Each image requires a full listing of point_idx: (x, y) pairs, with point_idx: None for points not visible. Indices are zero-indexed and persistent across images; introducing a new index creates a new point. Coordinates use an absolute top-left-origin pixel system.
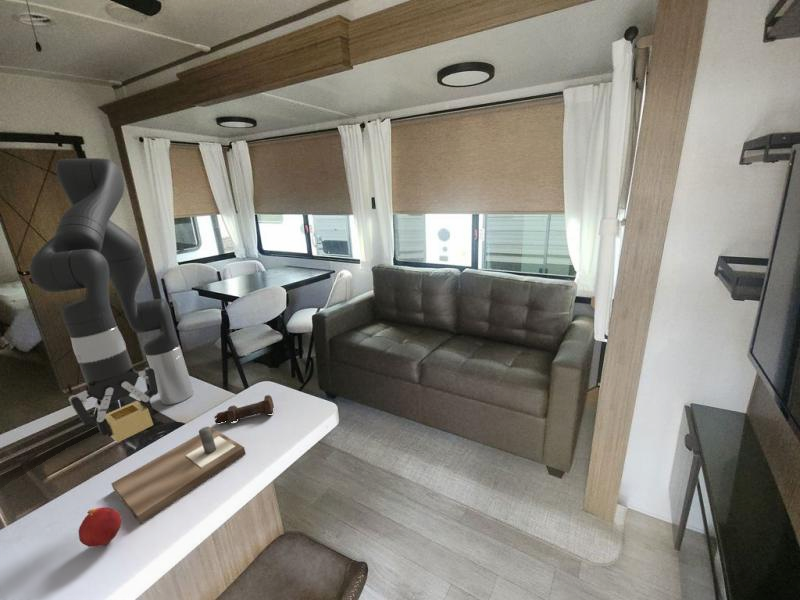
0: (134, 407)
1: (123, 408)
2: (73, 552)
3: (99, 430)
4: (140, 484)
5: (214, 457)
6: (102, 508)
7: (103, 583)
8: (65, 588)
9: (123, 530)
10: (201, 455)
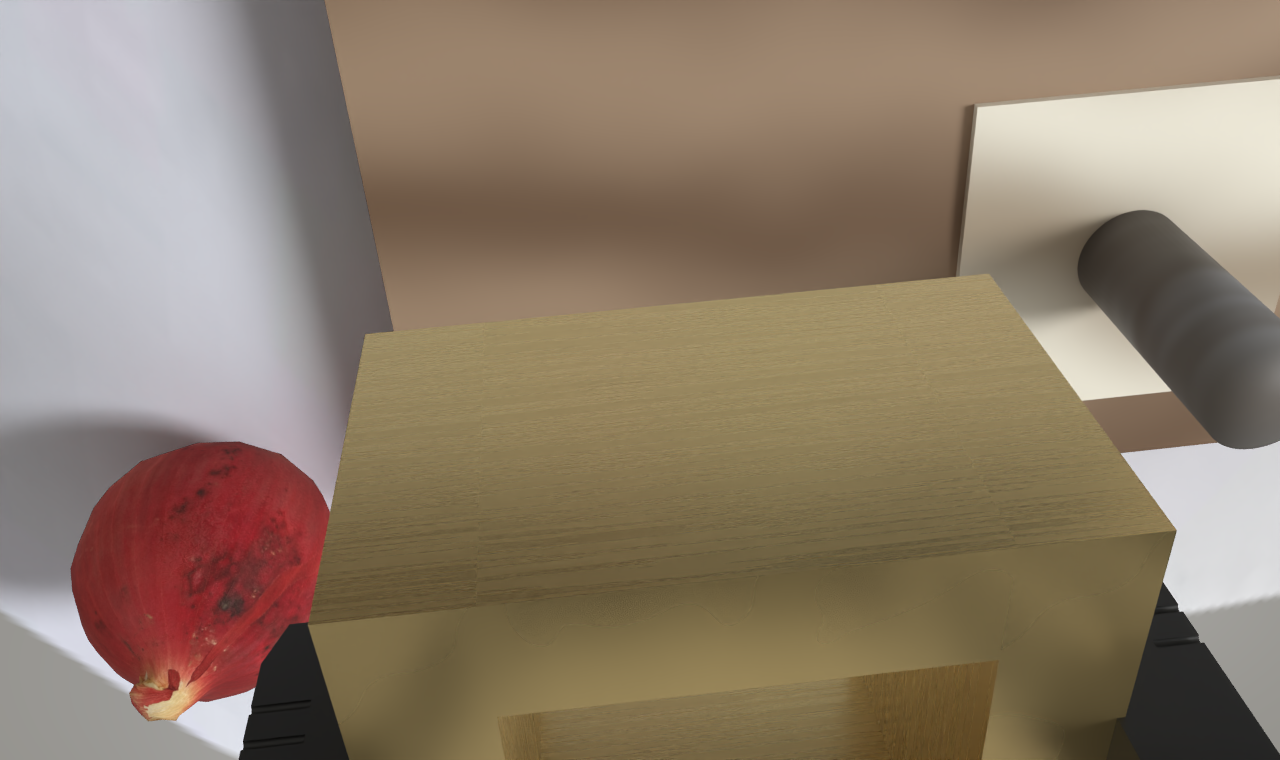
0: (971, 704)
1: (805, 663)
2: (34, 379)
3: (257, 716)
4: (528, 172)
5: (1074, 382)
6: (233, 662)
7: (223, 708)
8: (39, 611)
9: (337, 443)
10: (1044, 256)
